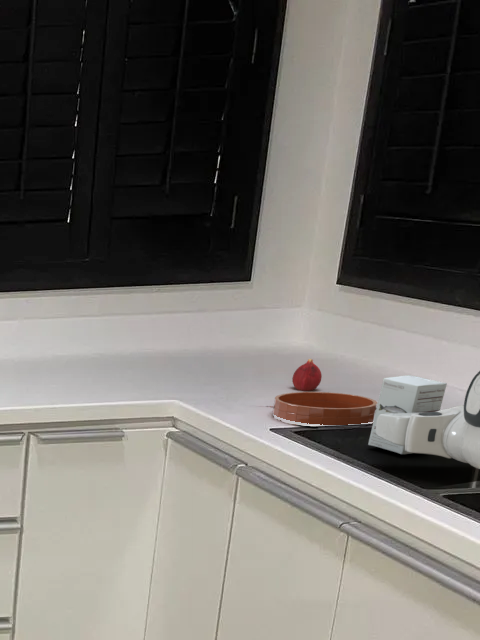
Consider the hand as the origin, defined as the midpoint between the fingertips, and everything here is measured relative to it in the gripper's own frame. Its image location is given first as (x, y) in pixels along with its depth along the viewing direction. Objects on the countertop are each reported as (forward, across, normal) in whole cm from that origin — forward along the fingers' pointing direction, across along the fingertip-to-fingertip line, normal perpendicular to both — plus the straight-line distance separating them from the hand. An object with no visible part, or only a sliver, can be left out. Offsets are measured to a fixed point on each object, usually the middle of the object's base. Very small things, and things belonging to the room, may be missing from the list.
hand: (417, 416), depth 208 cm
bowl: (+31, +1, +7) cm, 32 cm away
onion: (+58, -8, +7) cm, 59 cm away
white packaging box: (+4, 0, +7) cm, 8 cm away
